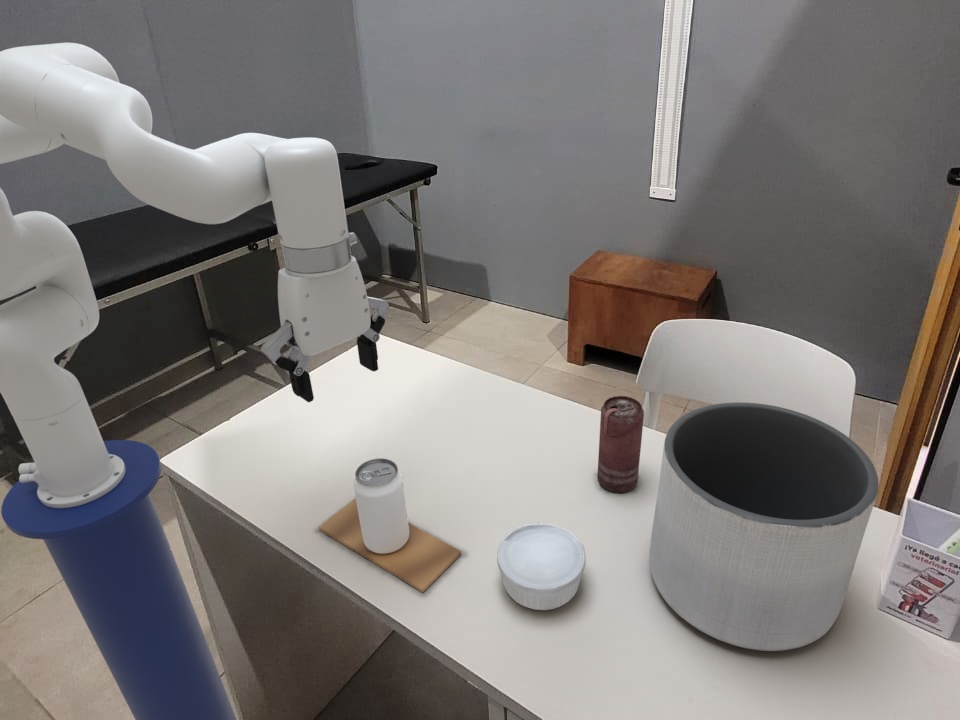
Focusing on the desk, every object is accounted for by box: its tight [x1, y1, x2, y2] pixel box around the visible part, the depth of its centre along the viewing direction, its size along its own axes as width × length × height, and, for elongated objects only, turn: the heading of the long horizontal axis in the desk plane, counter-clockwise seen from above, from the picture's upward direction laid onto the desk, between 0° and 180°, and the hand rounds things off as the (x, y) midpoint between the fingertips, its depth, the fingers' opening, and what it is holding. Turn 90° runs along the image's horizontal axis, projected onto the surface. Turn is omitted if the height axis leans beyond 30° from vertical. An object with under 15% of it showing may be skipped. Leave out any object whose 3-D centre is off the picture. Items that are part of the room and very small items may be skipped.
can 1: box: [353, 457, 409, 554], centre depth 88 cm, size 6×6×12 cm
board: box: [318, 498, 462, 593], centre depth 91 cm, size 20×8×1 cm, turn 53°
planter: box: [649, 402, 879, 652], centre depth 78 cm, size 23×23×20 cm
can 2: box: [596, 395, 645, 494], centre depth 97 cm, size 6×6×14 cm
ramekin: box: [496, 522, 587, 611], centre depth 82 cm, size 11×11×5 cm
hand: (338, 382), depth 82 cm, fingers open, 9 cm apart
